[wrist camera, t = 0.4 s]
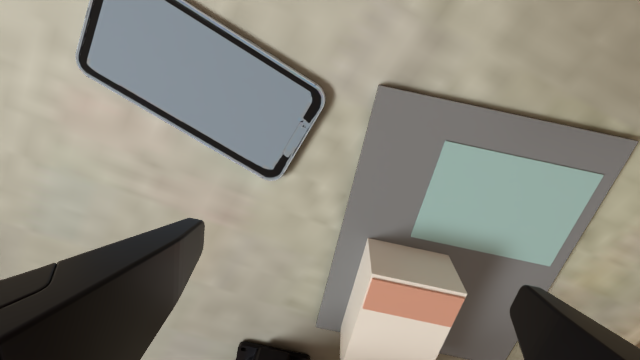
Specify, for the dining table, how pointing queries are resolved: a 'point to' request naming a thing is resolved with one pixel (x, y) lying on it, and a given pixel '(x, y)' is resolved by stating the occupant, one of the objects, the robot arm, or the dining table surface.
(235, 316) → the dining table surface
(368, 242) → the card box
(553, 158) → the mat
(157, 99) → the smartphone
